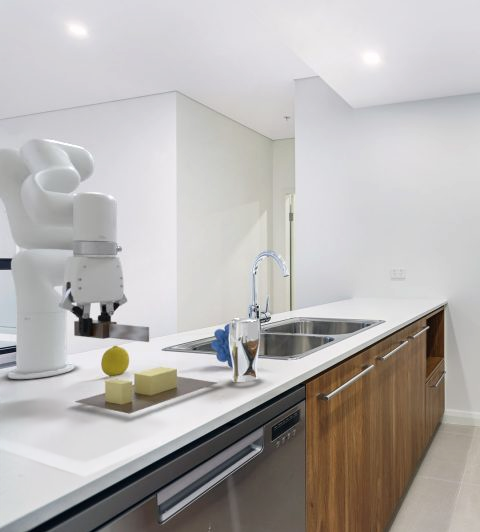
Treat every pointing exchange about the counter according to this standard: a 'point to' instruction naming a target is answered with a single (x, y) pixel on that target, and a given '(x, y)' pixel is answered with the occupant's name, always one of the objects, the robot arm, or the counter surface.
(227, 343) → the grapes
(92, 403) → the board
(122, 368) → the lemon
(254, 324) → the beer glass
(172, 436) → the counter surface
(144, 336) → the knife
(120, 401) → the butter slice
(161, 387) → the butter block
